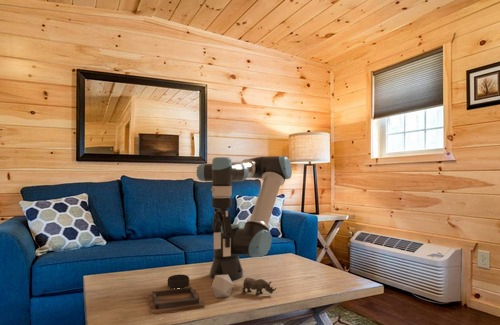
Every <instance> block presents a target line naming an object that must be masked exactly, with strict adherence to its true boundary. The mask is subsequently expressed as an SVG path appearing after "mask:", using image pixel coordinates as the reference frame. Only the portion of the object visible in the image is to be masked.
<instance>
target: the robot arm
mask: <svg viewBox="0 0 500 325" xmlns="http://www.w3.org/2000/svg"><path fill="white" fill-rule="evenodd" d="M196 168H197V169H196V177H197V179H198V180H199V181H201V182H212V183H211V188H210V191H211V193H212V194H211V195H212V198H211V207H212V208H214V209H213V212H214V213H213V221H212V228H211V229H212V231H213V260H212V263H211V267H210V271H209V277H210V278H211V279H213V280H214V277H215V275H229V277H230V279H231V281H233V280H234V281H235V280H238V279H240V278H242V277H243V276H244V271H243V270H244V269H243V267H242V263H241V260H240V256H247V257H252V258H255V257H257V258H262V257H264V256H266V255H267V254H268V253H269V250H270V249H271V245H272V234H271V232H270V228H269V224H270V219H271V217H272V213H273V209H274V207H275V203H276V200H277V196H278V193H279V191H280V188H281V187H282V186H283V185H284V184H285V182H286V180H289V179H291V177H292V176H293V175H292V172H293V168H292V164H291V160H290V158H289V157H287V156H285V155H278V156H277V155H275V156H270V155H269V156H268V155H267V156H257V157H253V158H245V159H243V160H242V161H232V158H231V157H225V156H223V157H219V156H218V157H213V158H212V162H211V163H202V164H199V165H198V166H197V167H196ZM246 179H260V180H262V184H261V187H260V190H259V193H258V195H257V198H256V202H255V204H254V207H253V210H252V213H251V216H250V218H249V220H247V221H246V222H244V226H243V228H241V227H240V225H239V223H237V224H236V223H232V221H231V211H230V210H228V208H231V207H232V206H233V205H232V198H231V197H232V196H233V194H232V191H233V190H232V188H233V186H232V182H238V183H239V182H240V183H241V182H242V181H246Z"/></svg>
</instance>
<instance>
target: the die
mask: <svg viewBox="0 0 500 325" xmlns="http://www.w3.org/2000/svg"><path fill="white" fill-rule="evenodd" d="M234 285H235V284H234V283H233V280H231V279H230V277H229V275H215V277H214V279H213V281H212V284H211V290H212V292H213V295H214V296H215V298H216V299H217V298H230V296H231V293H232V291H233V289H234V288H233V287H234Z"/></svg>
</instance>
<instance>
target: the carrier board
mask: <svg viewBox="0 0 500 325" xmlns="http://www.w3.org/2000/svg"><path fill="white" fill-rule="evenodd" d="M148 300H149V301H148ZM147 301H148V305H149V308H150V309H151V310H150V309H149V310H150V314H155V315H161V314H160V313H162V314H169V313H175V312H183V311H191V310H197V309H204V308H205V303H204V301H203V300H202V298H201V296H200V295H199V294H198V292H197V290H196V289H195V288H193V287H192V286H187V287H186V288H180V289H171V288H170V289H163V290H156V291H152V292H151V293H149V294H147ZM190 309H191V310H190Z"/></svg>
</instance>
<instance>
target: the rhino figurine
mask: <svg viewBox="0 0 500 325" xmlns="http://www.w3.org/2000/svg"><path fill="white" fill-rule="evenodd" d="M271 284H272V281H269V282H268V281H266V280H265V279H263V278H258V279H255V278H252V277H246V278H245V279H244V281H243V284H242V285H243V286H242V291H241V292H242V294H246V293H252V290H253V291H256V293H255V296H260V294H261V295H263V294H264V292H263V289H264V290H265V292H268V293H269V294H273V292H275V291H276V290H277V287H275V288H274V287H273V286H271ZM246 289H247V291H246Z"/></svg>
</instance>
